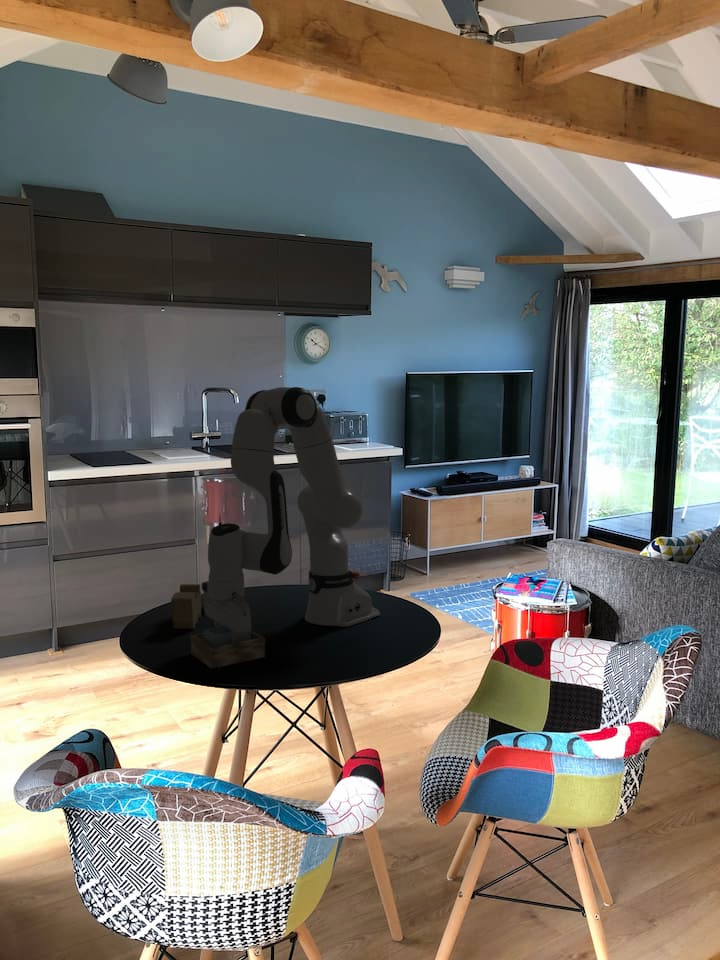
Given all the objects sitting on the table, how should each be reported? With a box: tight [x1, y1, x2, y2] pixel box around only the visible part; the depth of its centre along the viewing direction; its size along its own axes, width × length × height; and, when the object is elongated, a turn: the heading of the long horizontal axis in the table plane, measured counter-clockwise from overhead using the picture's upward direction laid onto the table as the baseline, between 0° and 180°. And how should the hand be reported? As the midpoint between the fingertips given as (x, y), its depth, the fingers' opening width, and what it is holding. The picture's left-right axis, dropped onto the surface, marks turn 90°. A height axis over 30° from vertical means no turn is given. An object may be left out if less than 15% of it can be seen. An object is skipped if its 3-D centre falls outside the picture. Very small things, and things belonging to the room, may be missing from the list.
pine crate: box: [189, 629, 267, 669], centre depth 209 cm, size 15×13×5 cm
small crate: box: [203, 626, 251, 648], centre depth 209 cm, size 10×6×5 cm, turn 125°
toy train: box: [170, 583, 203, 630], centre depth 234 cm, size 6×17×10 cm, turn 2°
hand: (227, 641), depth 209 cm, fingers closed on small crate, 6 cm apart
